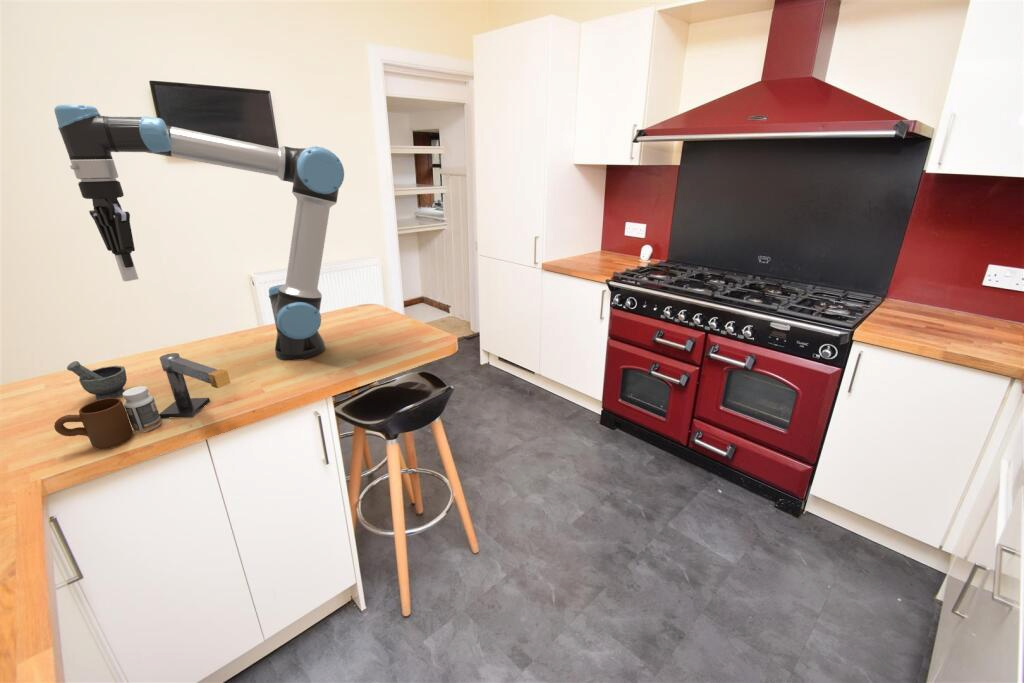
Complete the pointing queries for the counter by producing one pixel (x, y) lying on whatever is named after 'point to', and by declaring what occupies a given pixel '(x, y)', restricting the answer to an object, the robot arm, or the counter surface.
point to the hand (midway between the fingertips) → (130, 279)
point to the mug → (100, 423)
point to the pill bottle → (141, 409)
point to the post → (182, 398)
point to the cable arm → (195, 370)
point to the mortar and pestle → (101, 380)
